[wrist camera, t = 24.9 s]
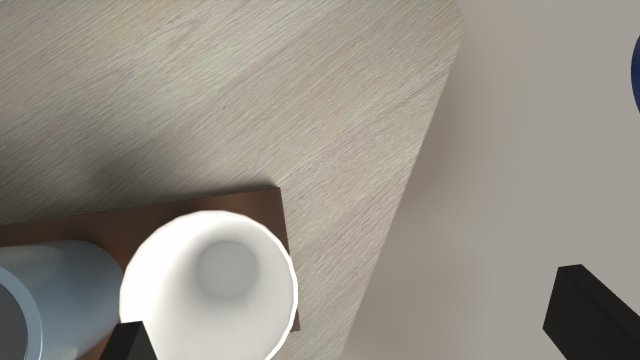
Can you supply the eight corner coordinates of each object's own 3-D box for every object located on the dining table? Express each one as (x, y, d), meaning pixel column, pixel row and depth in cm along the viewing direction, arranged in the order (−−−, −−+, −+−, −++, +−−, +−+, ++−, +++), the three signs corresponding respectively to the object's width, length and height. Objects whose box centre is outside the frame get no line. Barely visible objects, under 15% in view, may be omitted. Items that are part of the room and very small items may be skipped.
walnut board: (279, 188, 39) (280, 187, 38) (298, 326, 38) (300, 330, 37) (-151, 247, 33) (-171, 249, 31) (-142, 416, 31) (-161, 426, 30)
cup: (237, 191, 37) (228, 175, 24) (304, 275, 37) (331, 306, 24) (145, 261, 35) (78, 287, 22) (216, 349, 35) (193, 428, 22)
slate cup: (145, 262, 35) (74, 290, 21) (96, 370, 33) (-15, 478, 20) (36, 222, 34) (-116, 225, 20) (-20, 333, 32) (-226, 419, 18)
